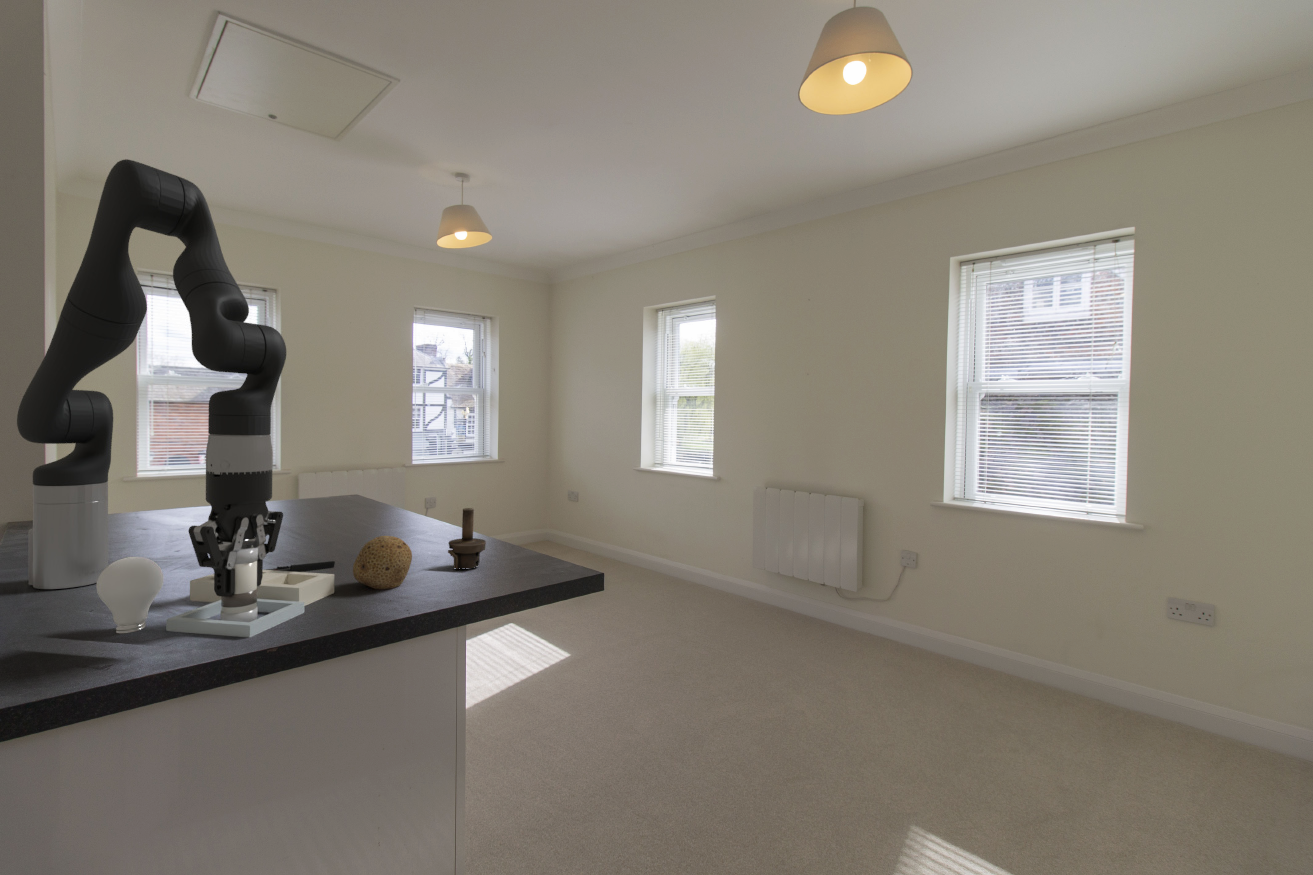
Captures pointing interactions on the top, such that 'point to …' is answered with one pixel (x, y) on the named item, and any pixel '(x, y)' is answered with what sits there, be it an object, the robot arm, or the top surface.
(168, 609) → the top surface
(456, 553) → the industrial component
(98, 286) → the robot arm
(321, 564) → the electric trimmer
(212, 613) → the tray
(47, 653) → the top surface
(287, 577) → the cream divided tray
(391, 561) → the natural sponge
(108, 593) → the light bulb
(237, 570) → the cream and grey canister
